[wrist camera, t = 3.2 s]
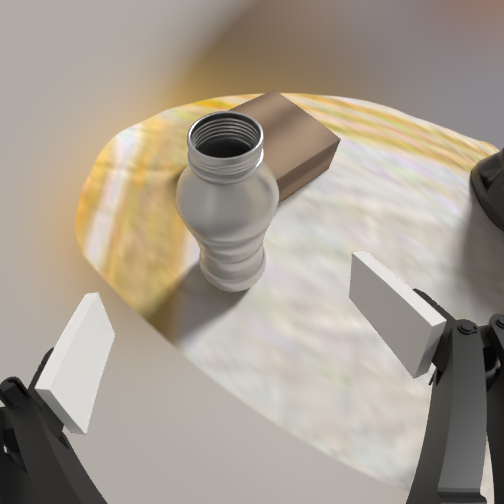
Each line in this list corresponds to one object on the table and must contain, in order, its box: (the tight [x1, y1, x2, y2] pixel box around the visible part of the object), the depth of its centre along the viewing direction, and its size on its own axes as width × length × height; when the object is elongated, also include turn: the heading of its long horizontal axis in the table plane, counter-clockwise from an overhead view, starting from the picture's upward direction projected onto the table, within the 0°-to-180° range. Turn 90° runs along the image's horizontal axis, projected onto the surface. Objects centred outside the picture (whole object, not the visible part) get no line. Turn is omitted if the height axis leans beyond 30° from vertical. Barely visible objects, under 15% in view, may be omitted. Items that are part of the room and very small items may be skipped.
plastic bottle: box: [175, 111, 279, 292], centre depth 22 cm, size 6×7×20 cm
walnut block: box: [228, 90, 341, 203], centre depth 34 cm, size 12×12×6 cm
